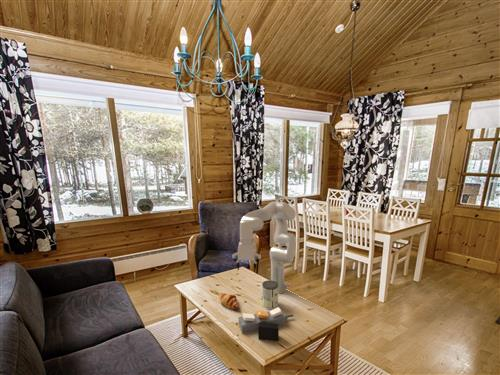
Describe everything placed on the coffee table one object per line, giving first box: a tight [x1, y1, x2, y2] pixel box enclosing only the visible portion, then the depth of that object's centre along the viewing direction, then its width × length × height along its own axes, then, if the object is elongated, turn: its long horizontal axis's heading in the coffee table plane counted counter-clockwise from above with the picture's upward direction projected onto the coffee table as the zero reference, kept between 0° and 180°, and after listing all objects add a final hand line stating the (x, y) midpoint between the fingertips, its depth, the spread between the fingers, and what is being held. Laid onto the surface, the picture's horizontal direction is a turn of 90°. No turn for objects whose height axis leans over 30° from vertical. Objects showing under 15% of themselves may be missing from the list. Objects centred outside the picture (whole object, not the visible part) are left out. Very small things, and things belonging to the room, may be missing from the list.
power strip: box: [238, 310, 294, 334], centre depth 140 cm, size 32×8×4 cm, turn 106°
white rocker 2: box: [268, 306, 283, 318], centre depth 141 cm, size 6×4×2 cm, turn 106°
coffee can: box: [261, 279, 279, 310], centre depth 158 cm, size 10×10×14 cm
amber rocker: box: [255, 310, 269, 319], centre depth 139 cm, size 6×4×2 cm, turn 105°
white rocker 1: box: [242, 312, 255, 321], centre depth 137 cm, size 6×4×2 cm, turn 105°
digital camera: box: [257, 321, 280, 342], centre depth 129 cm, size 10×5×7 cm, turn 82°
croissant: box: [219, 292, 240, 310], centre depth 160 cm, size 21×10×8 cm, turn 37°
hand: (246, 269), depth 144 cm, fingers open, 9 cm apart
